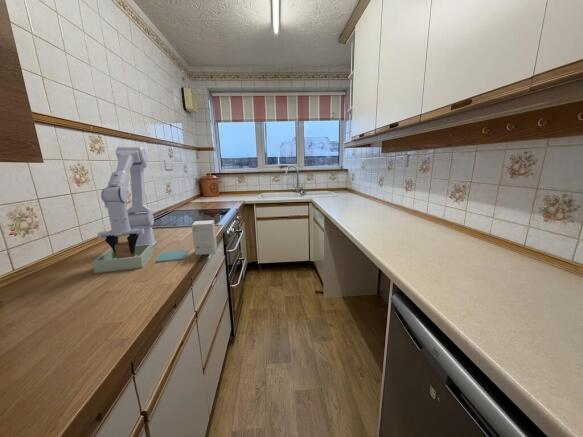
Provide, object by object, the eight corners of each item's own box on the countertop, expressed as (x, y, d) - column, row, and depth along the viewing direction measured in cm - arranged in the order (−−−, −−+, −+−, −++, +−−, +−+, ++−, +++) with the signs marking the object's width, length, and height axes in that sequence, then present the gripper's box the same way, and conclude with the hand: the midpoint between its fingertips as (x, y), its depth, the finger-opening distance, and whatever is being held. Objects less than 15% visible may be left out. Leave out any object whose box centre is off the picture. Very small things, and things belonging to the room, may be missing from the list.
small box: (217, 248, 106) (214, 219, 103) (215, 253, 100) (212, 223, 97) (198, 250, 105) (194, 220, 102) (194, 255, 99) (191, 224, 96)
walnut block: (121, 256, 95) (119, 241, 93) (134, 255, 96) (132, 240, 94) (117, 260, 90) (114, 245, 89) (131, 259, 92) (128, 244, 90)
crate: (113, 258, 99) (111, 247, 98) (154, 253, 102) (152, 243, 101) (94, 273, 85) (92, 261, 84) (142, 268, 88) (140, 256, 87)
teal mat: (162, 253, 102) (161, 252, 102) (187, 250, 104) (187, 249, 104) (155, 262, 92) (155, 261, 92) (183, 259, 95) (183, 258, 95)
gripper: (90, 223, 84) (98, 259, 87) (137, 220, 88) (143, 255, 91) (100, 218, 91) (107, 253, 94) (143, 216, 94) (149, 249, 97)
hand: (125, 253), depth 93 cm, fingers closed on walnut block, 4 cm apart
